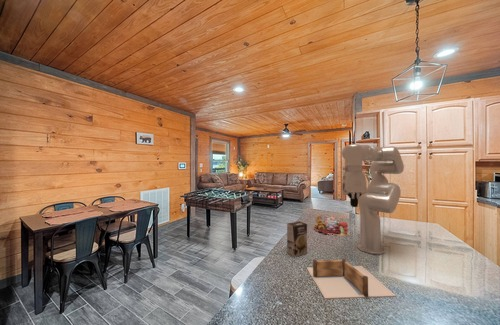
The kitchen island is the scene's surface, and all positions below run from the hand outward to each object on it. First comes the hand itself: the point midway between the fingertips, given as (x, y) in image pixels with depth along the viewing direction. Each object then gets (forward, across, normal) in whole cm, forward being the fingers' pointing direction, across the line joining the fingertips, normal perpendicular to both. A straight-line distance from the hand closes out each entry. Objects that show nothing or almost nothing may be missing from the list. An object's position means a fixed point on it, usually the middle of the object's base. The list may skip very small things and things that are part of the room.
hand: (354, 206), depth 94 cm
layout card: (+27, -13, -15) cm, 34 cm away
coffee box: (+27, -26, +10) cm, 39 cm away
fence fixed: (+27, -18, -12) cm, 34 cm away
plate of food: (+28, +9, +44) cm, 53 cm away
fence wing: (+27, -11, -19) cm, 35 cm away
